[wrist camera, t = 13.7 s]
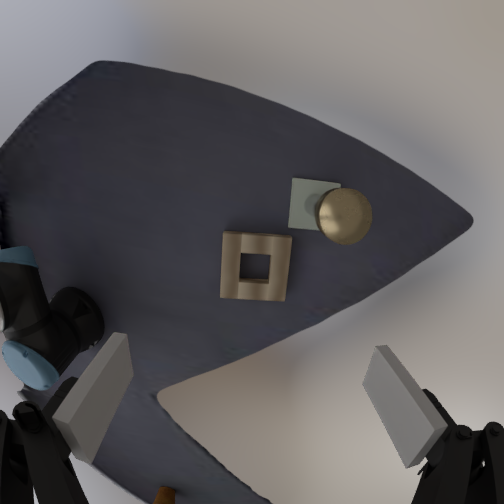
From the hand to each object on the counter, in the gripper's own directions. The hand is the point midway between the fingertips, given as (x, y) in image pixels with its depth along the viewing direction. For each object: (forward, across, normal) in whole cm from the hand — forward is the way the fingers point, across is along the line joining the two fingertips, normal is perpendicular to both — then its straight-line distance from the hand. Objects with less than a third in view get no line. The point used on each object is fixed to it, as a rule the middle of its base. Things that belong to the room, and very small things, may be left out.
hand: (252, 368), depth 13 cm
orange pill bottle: (+39, +25, +102) cm, 112 cm away
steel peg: (+38, -12, -6) cm, 40 cm away
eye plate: (+39, -2, +6) cm, 39 cm away
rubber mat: (+39, -12, -6) cm, 41 cm away
